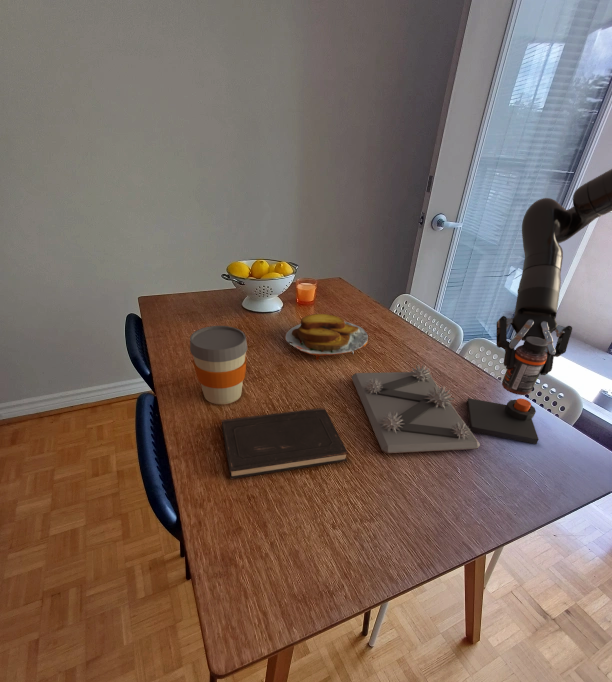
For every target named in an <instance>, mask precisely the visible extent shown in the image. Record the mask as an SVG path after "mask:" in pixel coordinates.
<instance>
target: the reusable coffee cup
mask: <svg viewBox="0 0 612 682" xmlns="http://www.w3.org/2000/svg"><path fill="white" fill-rule="evenodd" d="M247 341H248V340H247V335H246V333H245V332H244V331H242V330H241V329H240V328H237V327H233V326H228V325H211V326H205V327H202V328H199V329H197V330H195V331H193V332H192V333H191V335H190V338H189V351H190V354H191V355H192V358H193V359H192V365H193V368H194V371H195V375H196V378H197V381H198V382H199V384H200V387H201V389H202V394H203V398H204V399H205V401H208V402H209V403H211V404H215V405H228V404H232V403H235V402H236V401H238V400H239V399H240V398H241V397H242V393H243V383H244V380H245V378H246V371H247V359H248V358H247V356H246V353H247V351H248V342H247Z"/></svg>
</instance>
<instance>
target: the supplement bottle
mask: <svg viewBox="0 0 612 682" xmlns="http://www.w3.org/2000/svg"><path fill="white" fill-rule="evenodd" d="M547 345H548V343H547V341H545V340H544V339H542V338H539V337H533V336H530V337H527V338H526V339H525V341H523V344H521V345H519V346H516V347H515V350H516V352H515V358H514V365H513V368H511V369H506V371H505V374H504V376H503V379H502V382H501V385H502V387H503V388H504V390H506V391H507V392H509V393H511V394H514V395H517V396H526V395H529V394H531V393H532V391H533V389H534V387H535V386H536V383H537V381H538V379H539V377H540V376H541V375H540V373H541V370H542V368H543V366H544V364H545V362H546V360H547V354H546V352H545V351H544V350H546V347H547Z"/></svg>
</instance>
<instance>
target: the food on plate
mask: <svg viewBox="0 0 612 682" xmlns="http://www.w3.org/2000/svg"><path fill="white" fill-rule="evenodd" d="M369 337H370V335H368V332H367V331H366V330H365V328H363V327H361V326H359V325H357V324H355V323H352V322H348V321H345V320H344V318H342V317H339V316H337V315H334V314H328V313H314V314H309V315H305V316H303V317H302V318H301V319H300V323H299V324H296V325H294V326H292V327H291V328H289V330H288V331H287V332H286V333H285V334H284V340H285V342H287V343H288V344H289V345H291V346H293V347H294V348H295V349H297V350H299V351H301V353H306V354H307V355H308V354H309V356H311V355H312V356H315V360H317V361H319V359H320V357H321V356H322V357H325V356H335V355H340V354H341V355H344V354H348V353H351V352H352V355H354V352H355V351H357V350H360V349H362V348H363V347H366V346H367V345H368V341H369V340H370V339H369ZM291 352H292V353H293V352H294V351H293V350H291Z"/></svg>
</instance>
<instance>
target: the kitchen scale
mask: <svg viewBox="0 0 612 682" xmlns="http://www.w3.org/2000/svg"><path fill="white" fill-rule="evenodd" d="M516 400H517V399H510V400H508V401H507V403H506V404H503V403H499V402H492V401H487V400H481V399H477V398H476V399H475V398H470V397H468V398H467V400H466V410H467V417H468V427H469V429H470V431H471V432H472V433H475V434H480V435H481V434H482V435H487V436H491V437H497V438H502V439H507V440H513V441H518V442H522V443H528V444H533V445H537V444H538V441H539V436H538V433H537V430H536V428H535V425H534V422H533V418H534V417H535V415H536V413H537V411H536V407H535V406H533V405H532V404H531V406H530V408H529V410H528V412H522V411H519V410H517V409H515V408H514V404H515V402H516Z"/></svg>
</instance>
